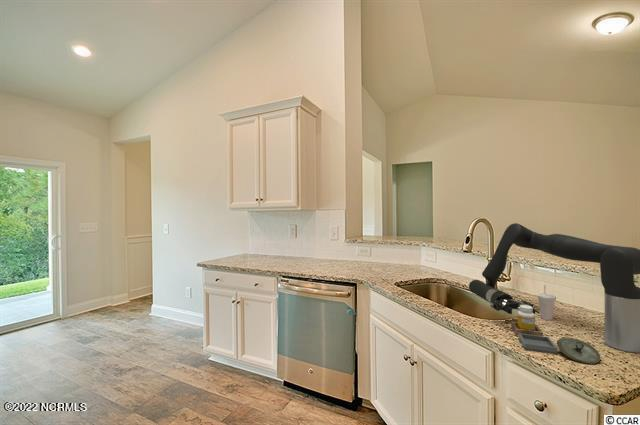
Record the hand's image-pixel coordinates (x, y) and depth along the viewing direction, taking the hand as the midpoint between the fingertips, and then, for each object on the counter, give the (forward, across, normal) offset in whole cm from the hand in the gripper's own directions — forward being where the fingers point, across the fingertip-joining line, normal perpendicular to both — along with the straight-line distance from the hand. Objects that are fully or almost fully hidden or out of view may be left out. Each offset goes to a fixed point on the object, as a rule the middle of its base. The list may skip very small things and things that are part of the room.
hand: (522, 311), depth 114 cm
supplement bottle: (+2, 0, +7) cm, 8 cm away
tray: (+14, -4, +7) cm, 16 cm away
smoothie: (-12, +17, +7) cm, 22 cm away
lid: (+20, +4, +7) cm, 22 cm away
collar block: (+2, 0, +7) cm, 7 cm away
